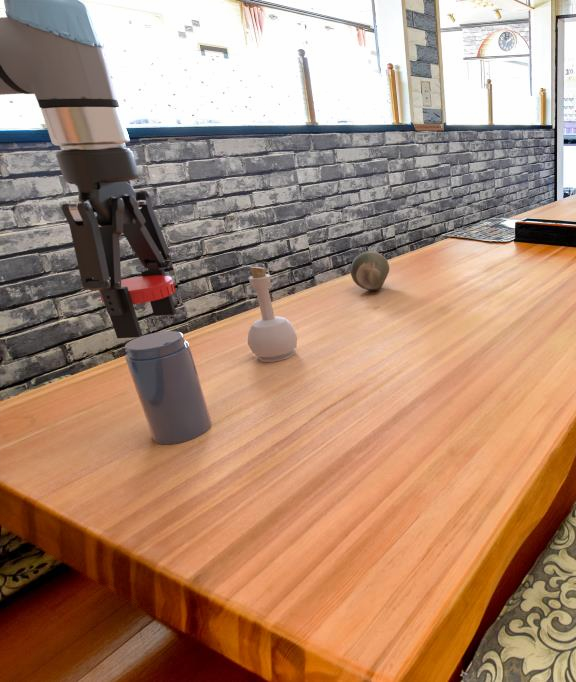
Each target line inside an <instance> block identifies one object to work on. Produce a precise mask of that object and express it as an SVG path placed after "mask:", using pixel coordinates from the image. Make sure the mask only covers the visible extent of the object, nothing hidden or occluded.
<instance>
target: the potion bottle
mask: <svg viewBox="0 0 576 682" xmlns="http://www.w3.org/2000/svg"><path fill="white" fill-rule="evenodd" d="M248 268H249V271H250V273H251V276H249V277H247V278H248V281H249V284H250V286H251V287H252V288H253V289H255V292H256V297H257V301H258V306H259V309H260V310H259V311H260V314H261V319H258V320H255V321H254V322H253V323H251V326H250V328H249V331H248V333H247V346H248V347H249V348H250V350H251V353H252V354H254V355H255V356H257V357H256V358H257V360H259V361H260V362H261V363H275V362H281V361H284V360H288V359H290V358H291V357H293V356H294V355H295V354H296V352H295V349H297V348H298V347H297V346H298V345H297V344H298V336H297V332H296V330H295V328H294V326H293V324H292V323H291V321H289V319H287V317H284V316H275V313H274V309H273V304H272V299H271V295H270V290H269V288H270V284H271V274H269V273H266V268H265V267H260V266H252V265H251V266H248Z"/></svg>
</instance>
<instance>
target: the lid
mask: <svg viewBox="0 0 576 682" xmlns="http://www.w3.org/2000/svg"><path fill="white" fill-rule="evenodd" d="M121 287H128V291H129V294H130V297H131V300H132V303H133V305H140V304H145V303H150V301H155V300H158V299H162V298H165V297H167V296H170V295H172V296H173V294H174V293H175V292H176V291H177V289H176V286H175V283H174V280H173V278H172V277H171V276H170V275H166V276H164V275H152V276H142V275H141V276H134V277H128V278H123V279H122V278H121ZM99 296H100V299H101V302H102V303H103V304H104V301H103V298H102V295H101V293H100V292H99Z"/></svg>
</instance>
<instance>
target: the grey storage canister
mask: <svg viewBox="0 0 576 682" xmlns="http://www.w3.org/2000/svg"><path fill="white" fill-rule="evenodd" d="M124 348H125V349H124V350H125V353H126V354H125V356H124V359H125V362H126V365H127V368H128V371H129V374H130V377H131V379H132V383H133V385H134V388H135V390H136V393H137V396H138V399H139V402H140V405H141V409H142V411H143V414H144V417H145V420H146V423H147V426H148V429H149V431H150V435H151V438H152V440H153V441H154V442H155V443H156V444H159V445H176V444H180V443H181V444H182V443H185V442H188V441H191V440H193V439H196V438H198V437H200V436H202V435H203V434H205V433H206V432H207V431H208V430H209V429H211V427H212V418H211V415H210V412H209V408H208V405H207V401H206V397H205V394H204V390H203V388H202V385H201V381H200V378H199V373H198V370H197V367H196V364H195V360H194V357H193V353H192V350H191V347H190V344H189V342H188V341H187V340H185V337H184V334H183V333H182V332H180V331H175V330H169V331H158V332H157V331H156V332H153V333H149V334H148V333H147V334H144V335H142V336H141V337H135V338H133V339H131V340H130V341H128V342H126V344H125V345H124Z"/></svg>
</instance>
